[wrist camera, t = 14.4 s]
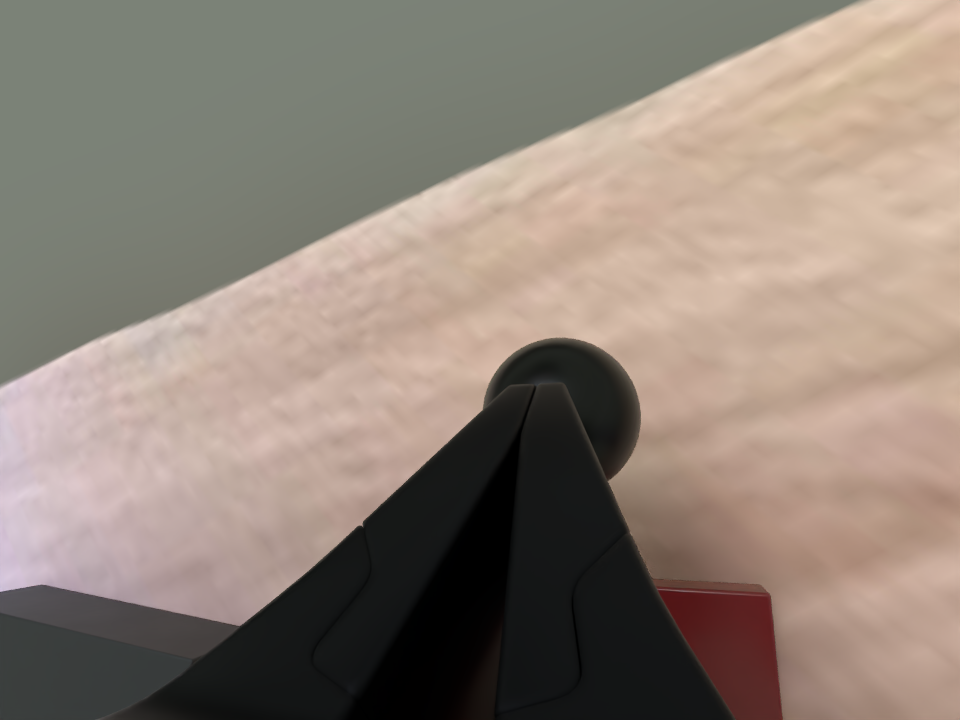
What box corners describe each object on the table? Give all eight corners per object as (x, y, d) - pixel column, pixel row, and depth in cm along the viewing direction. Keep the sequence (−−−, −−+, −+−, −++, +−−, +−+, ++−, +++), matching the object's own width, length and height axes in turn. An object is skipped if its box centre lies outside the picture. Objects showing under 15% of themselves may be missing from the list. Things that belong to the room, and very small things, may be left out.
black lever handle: (507, 379, 12) (469, 315, 10) (639, 373, 11) (633, 302, 9) (457, 1217, 7) (353, 1506, 5) (689, 1312, 6) (703, 1717, 4)
